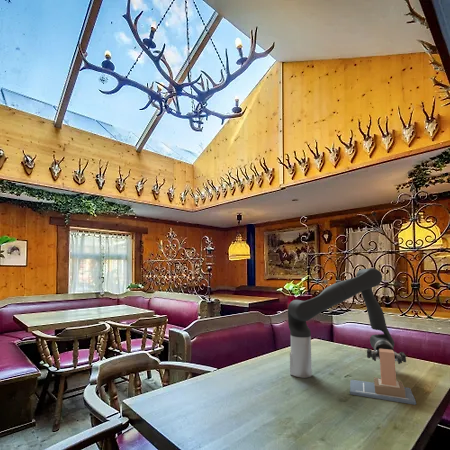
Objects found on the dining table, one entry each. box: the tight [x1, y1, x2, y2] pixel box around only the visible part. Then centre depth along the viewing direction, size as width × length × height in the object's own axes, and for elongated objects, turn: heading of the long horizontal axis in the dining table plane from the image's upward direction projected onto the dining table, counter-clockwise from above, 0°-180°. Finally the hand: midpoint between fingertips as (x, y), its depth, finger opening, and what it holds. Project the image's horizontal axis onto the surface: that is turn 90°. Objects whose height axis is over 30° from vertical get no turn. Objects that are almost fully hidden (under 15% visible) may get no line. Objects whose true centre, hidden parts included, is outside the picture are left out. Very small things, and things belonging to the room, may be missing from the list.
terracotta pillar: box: [379, 349, 397, 386], centre depth 120 cm, size 5×5×12 cm
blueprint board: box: [349, 377, 417, 406], centre depth 120 cm, size 22×14×4 cm, turn 66°
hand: (387, 359), depth 121 cm, fingers open, 8 cm apart
